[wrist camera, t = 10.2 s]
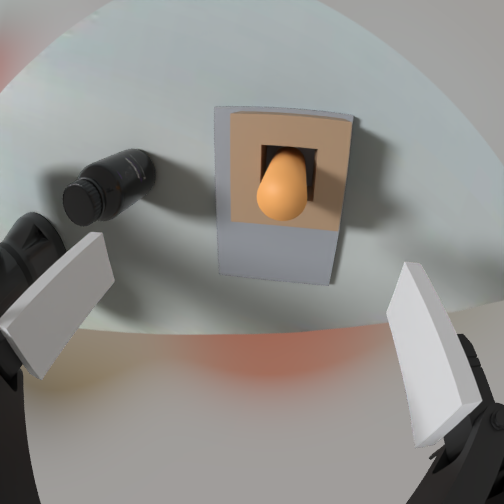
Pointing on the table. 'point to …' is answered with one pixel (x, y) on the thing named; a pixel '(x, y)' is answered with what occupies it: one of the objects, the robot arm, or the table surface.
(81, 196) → the supplement bottle
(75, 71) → the table surface
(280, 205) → the peg
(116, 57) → the table surface
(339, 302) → the table surface
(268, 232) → the socket board
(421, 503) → the robot arm
